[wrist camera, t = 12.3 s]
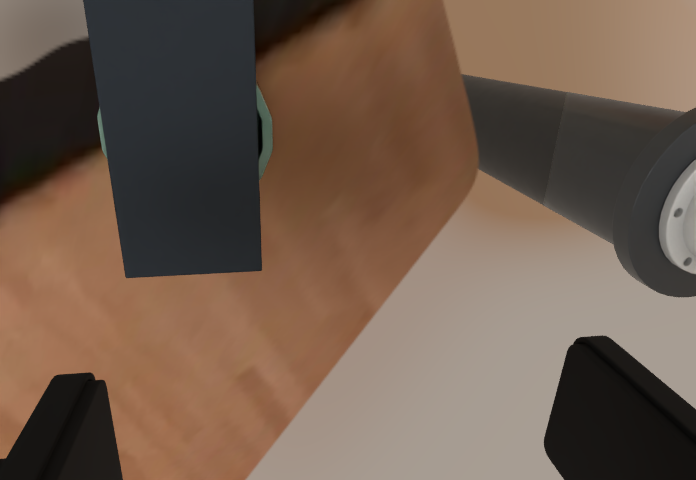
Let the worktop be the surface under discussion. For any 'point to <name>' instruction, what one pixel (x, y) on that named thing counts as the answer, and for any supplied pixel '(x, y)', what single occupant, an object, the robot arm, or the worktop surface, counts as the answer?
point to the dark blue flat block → (180, 132)
